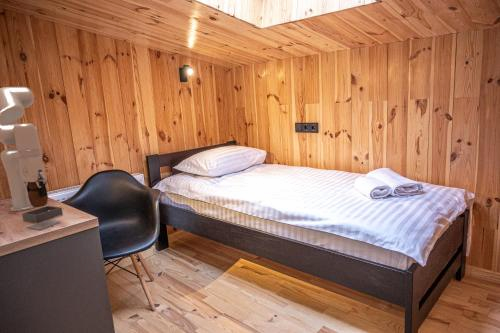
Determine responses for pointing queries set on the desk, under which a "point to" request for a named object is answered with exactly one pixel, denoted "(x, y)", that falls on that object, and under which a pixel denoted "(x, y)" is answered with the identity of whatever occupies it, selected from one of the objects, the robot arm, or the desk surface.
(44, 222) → the mat
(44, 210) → the dock
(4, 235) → the desk surface
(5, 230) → the desk surface
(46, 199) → the wooden figurine
